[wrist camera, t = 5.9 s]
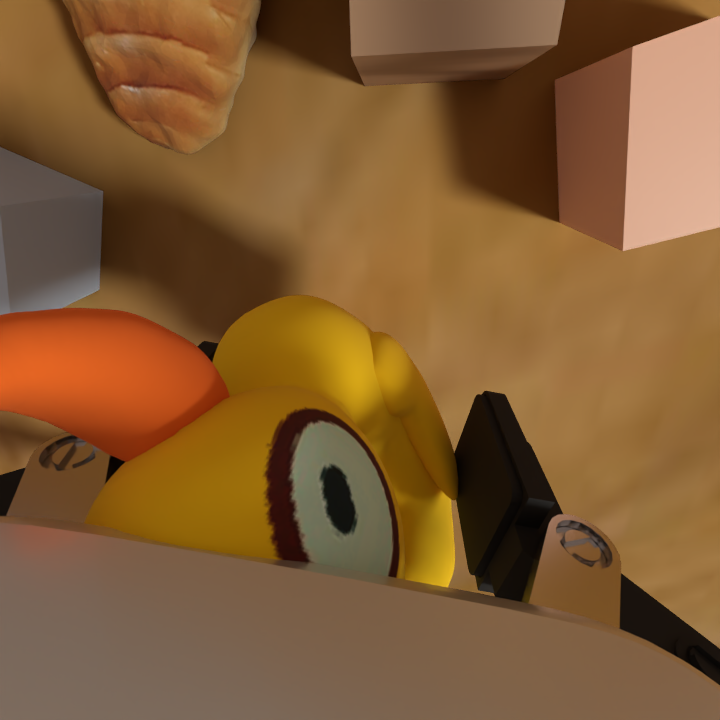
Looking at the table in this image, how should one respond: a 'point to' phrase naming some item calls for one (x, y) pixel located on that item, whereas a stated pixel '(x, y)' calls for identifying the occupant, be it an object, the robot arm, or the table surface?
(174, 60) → the pastry
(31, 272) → the block slate
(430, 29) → the block walnut
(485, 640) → the robot arm
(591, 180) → the block terracotta
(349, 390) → the duckling
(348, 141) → the table surface
